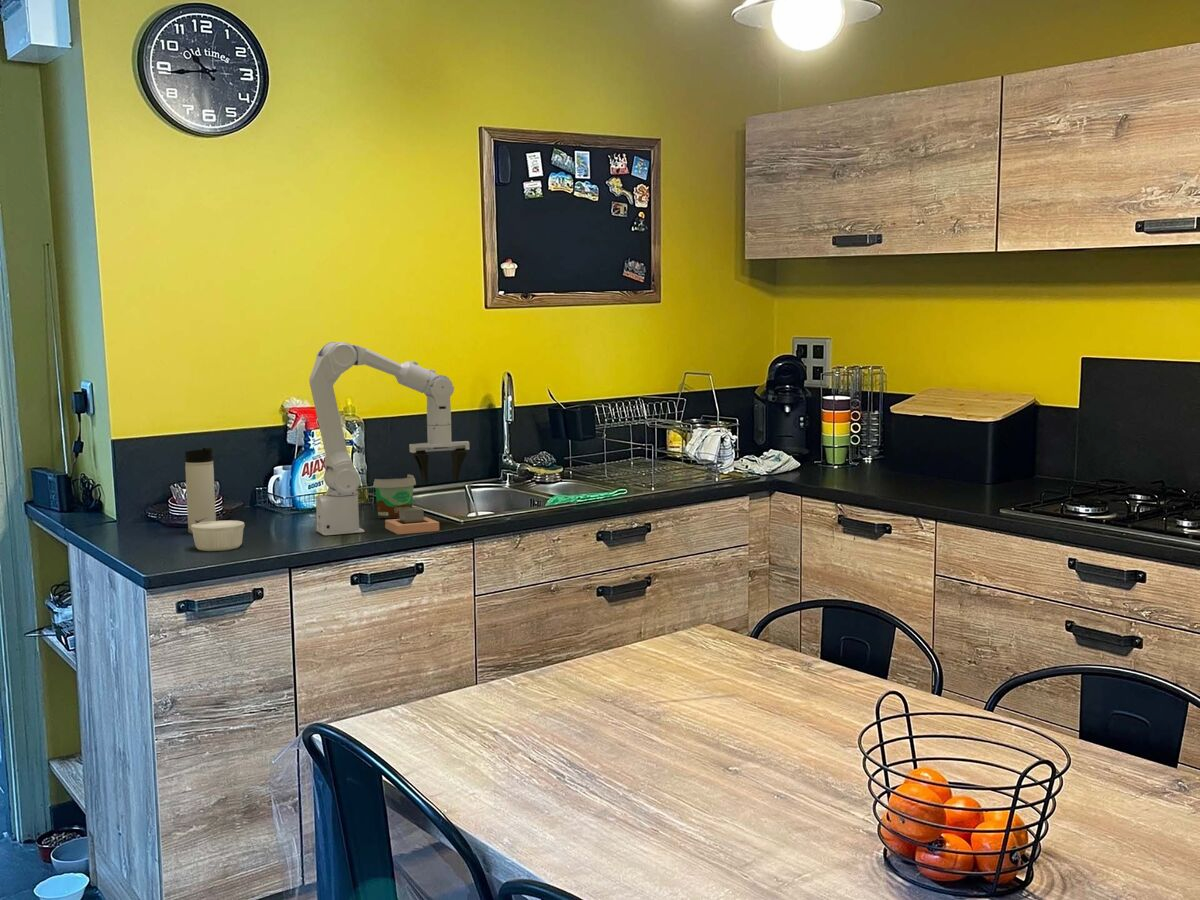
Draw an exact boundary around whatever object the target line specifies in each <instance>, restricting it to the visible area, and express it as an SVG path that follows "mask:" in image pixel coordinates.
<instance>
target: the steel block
mask: <svg viewBox="0 0 1200 900" xmlns="http://www.w3.org/2000/svg"><path fill="white" fill-rule="evenodd" d="M424 514H425V513H424V508H421V507H419V506H412V507H410V508H399V518H398V519H400V523H401V524H411V523H423V522H424V517H425V516H424Z"/></svg>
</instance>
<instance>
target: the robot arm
mask: <svg viewBox="0 0 1200 900" xmlns="http://www.w3.org/2000/svg"><path fill="white" fill-rule="evenodd" d="M353 366H357V367H358V366H368V367H370V368H373V369H375V370H378V371H381V372H383V373H386V374H389V375H392V376H394V378H395V379H396V381H397V383H398V384H399V385H400V386H404V387H406V388H408V389H411V390H414V391H416V392H418V393H421V394H424V396H426V428H427V429H426V432H427V433H426V434H427V435H426V436H427V442H420V443H419V442H418V443H410V444H409V446H408V447H409V453H412V455H413V458H414V460H415V462H416V464H417V467H418V469H419V472H420V475H421V480H422V482H423V483H429V458H430V457H429V456H430V455H429V454H428V453H427V452H443V451H450V455H451V464H452V468H451V469H452V471H451V472H452V475H451V476H452V480H453V481H459V477H460V472H461V469H462V466H463V463H464V461H465V459H466V456H467V454H468V453H467V452H468V451H467V450H470V441H468V440H464V441H452V407H451V406H452V405H451V397H452V395H453V394H454V392H455V386H454V385H453V382H452V380H451V378H449V377H448V376H446V375H443V374H437V373H436V370H434V368H433V369H428V368H425V367H423V366H420V365H419V362H417V361H415V360H412V361H408V360H406V361H405V362H402V363H399V362H397V361H394V360H393V359H391V358H388V357H387V356H384V355H382V354H380V353H378V352H375V351H373V350H371V349H368V348H367V347H363V346H360V345H356V344H351V343H349V342H346V341H338V342H337V341H330V342H327V343H325V345H323V346H322V347H321V348H320V350H319V351H318V352H317V353H316V356H315V361H314V365H313V368H312V371H311V373H310V376H309V379H308V380H309V387H310V391H311V395H312V401H313V404H314V410H315V414H316V417H317V418H316V419H317V422H318V423H317V424H318V427H319V433H320V437H321V441H322V444H323V449H324V454H325V456H324V457H325V458H324V466H325V469H324V470H325V471H324V474H323V480H324V484H325V485H326V486H327V487H328V488H327V490H326V494H324V495H319V496H317V498H316V501H315V502H316V503H315V507H316V530H315V531H316V532H318V533H320V534H321V535H323V536H334V535H347V534H348V535H349V534H357V533H364V532H365V530H364V529H363V528H361V527H360V518H359V517H360V514H359V512H360V511H359V491H358V488H359V486H360V484H361V477H360V474H359V472H358V471H357V469H355V467H354V464H353V459H351V456H350V455H349V451H348V449H347V444H346V440H345V435H344V431H343V425H342V419H341V417H340V411H339V407H338V403H337V398H336V394H335V389H334V385H335V383H336V382H337V381H338V379H339V378H340V377H341V376H342V374H344V373H345V372H347V371H348V370H349V369H351V368H352V367H353Z"/></svg>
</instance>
